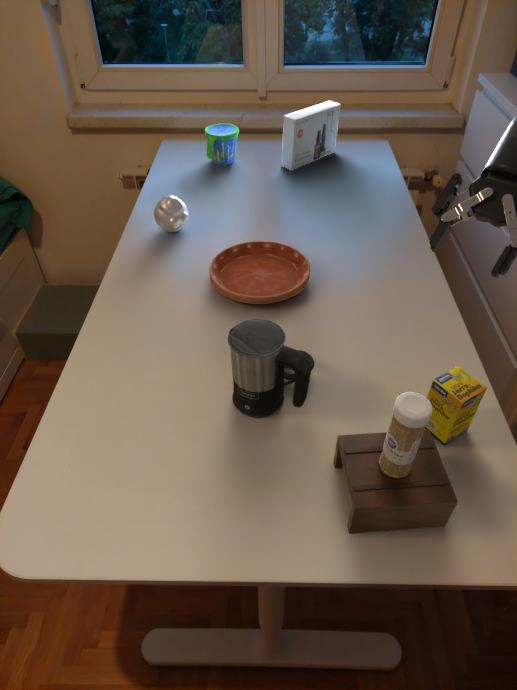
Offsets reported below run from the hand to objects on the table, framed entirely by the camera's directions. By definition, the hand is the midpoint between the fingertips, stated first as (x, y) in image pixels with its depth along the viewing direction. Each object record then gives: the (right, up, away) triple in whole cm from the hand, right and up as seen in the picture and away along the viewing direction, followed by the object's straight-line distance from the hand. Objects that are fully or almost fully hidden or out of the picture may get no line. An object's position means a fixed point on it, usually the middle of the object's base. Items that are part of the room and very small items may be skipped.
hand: (462, 262), depth 66 cm
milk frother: (-24, -18, +26) cm, 40 cm away
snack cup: (-38, +49, +98) cm, 116 cm away
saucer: (-27, +4, +50) cm, 57 cm away
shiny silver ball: (-49, +19, +66) cm, 85 cm away
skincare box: (-10, +50, +98) cm, 110 cm away
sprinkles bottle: (-8, -28, +5) cm, 30 cm away
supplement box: (+4, -25, +19) cm, 31 cm away
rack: (-8, -33, +10) cm, 35 cm away
